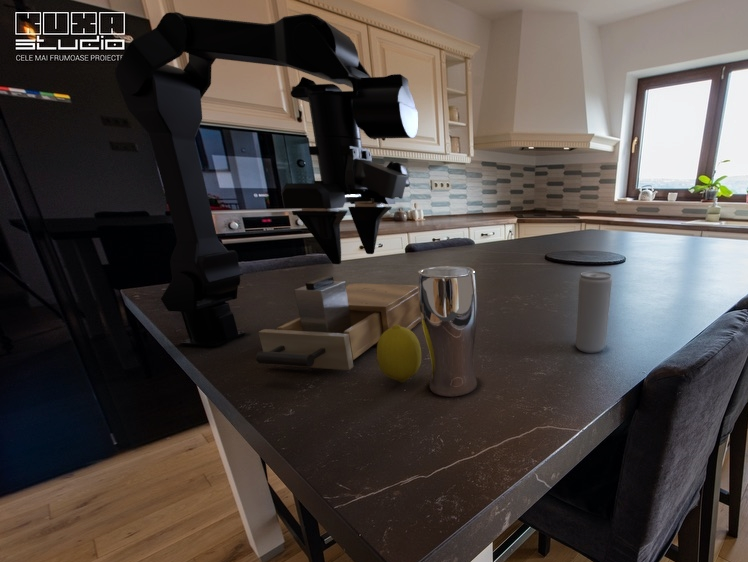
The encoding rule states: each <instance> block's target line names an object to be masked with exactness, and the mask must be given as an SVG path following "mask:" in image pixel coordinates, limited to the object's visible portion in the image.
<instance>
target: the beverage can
mask: <svg viewBox="0 0 748 562" xmlns="http://www.w3.org/2000/svg"><path fill="white" fill-rule="evenodd" d="M612 282H613V279H612V274H611V273H609V272H605V271H595V270H594V271H593V270H592V271H583V272H581V273H580V277H579V279H578V293H577V294H578V295H577V296H578V297H577V315H576V316H577V319H576V334H575V346H576V349H578V350H579V351H581V352H583V353H588V354H595V353H600V352H602V351H604V350H605V349H606V347H607V339H608V338H607V337H608V326H609V316H610V305H611V294H612Z"/></svg>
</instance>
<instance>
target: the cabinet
mask: <svg viewBox="0 0 748 562" xmlns="http://www.w3.org/2000/svg"><path fill="white" fill-rule="evenodd" d="M345 286H346V292H347V299H348V305H349V310H354V311H375V312H381V315H382V323H383V332H385V331H386V330H388V329H390V328H392V327H393V326H394V325H399V326H401V327H404V328H407V329H409V330H410V331H412V329H413V328H415V327H416V326H418V324H419V323H422V322H421V318H420V309H419V285H412V284H389V283H388V284H386V283H363V282H362V283H358V282H357V283H356V282H353V283H350V284H347V285H345ZM377 345H378V342H377V343H375V344H374V345H373V346H372V347H377Z"/></svg>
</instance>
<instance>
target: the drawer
mask: <svg viewBox="0 0 748 562" xmlns="http://www.w3.org/2000/svg"><path fill="white" fill-rule="evenodd" d="M349 312H350V319H351V325H352V327H350V328H349V329H347V330H345V331H344V334H343V333H325V332H307V331H303V330H302V325H301V320H300V317H297V318H295V319H293V320H291V321H289V322H287V323H284V324H282V325H280V326H278V327H277V328H276V329H270V328H263V329H261V330H259V331H258V337H259V341H260V345H261V350H260V351H258V352H257V353H256V356H255V361H256V362H257V363H258V364H261V365H262V364H263V365H269V366H270V365H271V366H285V367H299V368H312V369H327V370H339V371H340V370H341V371H350V370H352V369H353V368H354V360H355V359H357V358H358V357H359V356H361V355H363V353H365V352H366V351H367V350H369V349H370V348H371V347H374V346H373V345H374V344H375V343H377V342H378V341H379V339H380V337H381V335H382V334H383V333H384V332H383V323H382V315H381V312H375V311H354V310H349Z"/></svg>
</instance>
